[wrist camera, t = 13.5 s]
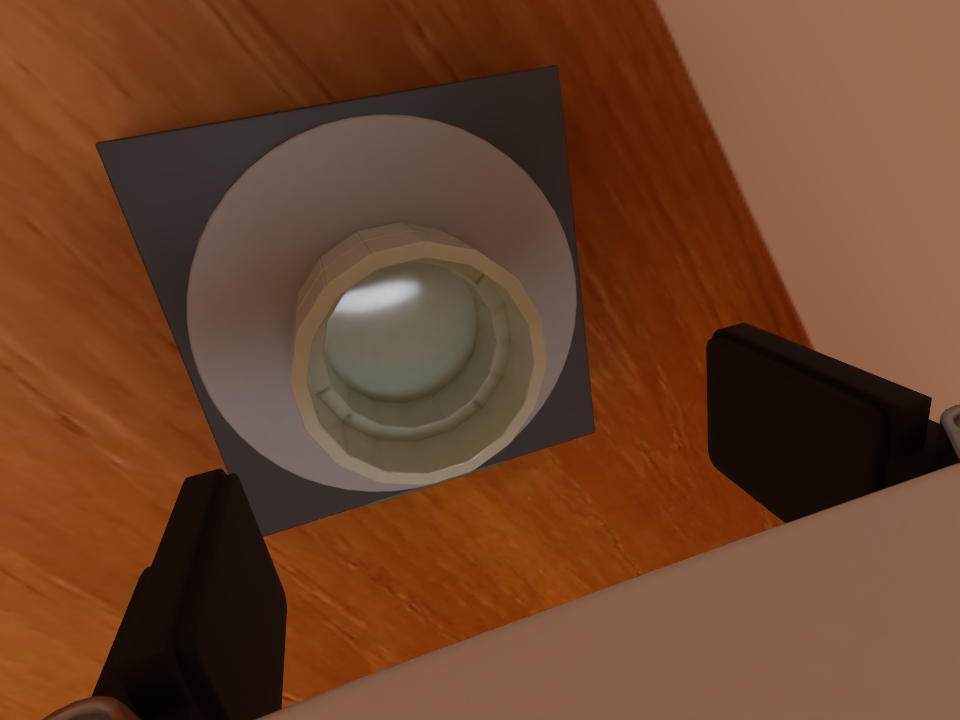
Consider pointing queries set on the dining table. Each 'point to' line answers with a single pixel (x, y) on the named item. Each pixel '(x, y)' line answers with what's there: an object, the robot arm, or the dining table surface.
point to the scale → (326, 223)
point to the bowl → (414, 355)
